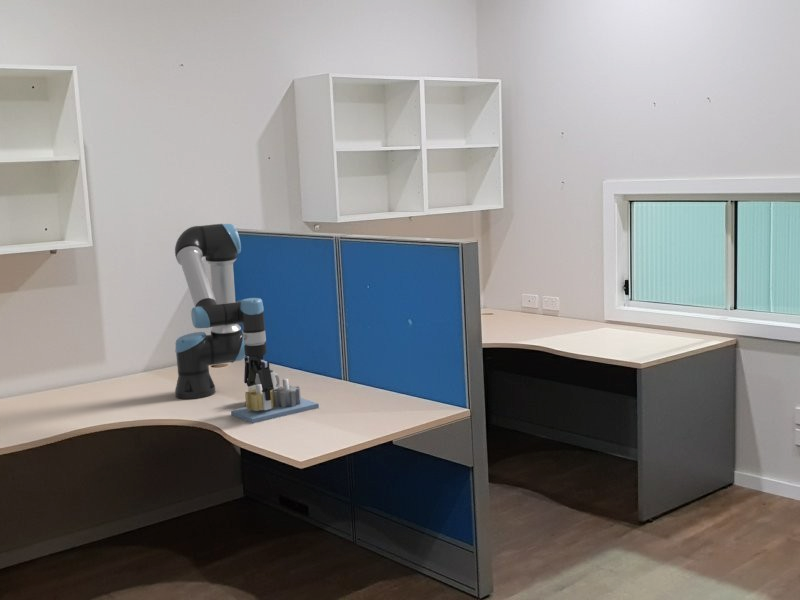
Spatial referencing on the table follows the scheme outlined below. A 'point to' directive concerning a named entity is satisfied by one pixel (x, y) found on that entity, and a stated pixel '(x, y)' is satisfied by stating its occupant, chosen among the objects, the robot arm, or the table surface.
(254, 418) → the gear board
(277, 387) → the mug
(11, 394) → the table surface
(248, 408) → the brass gear
